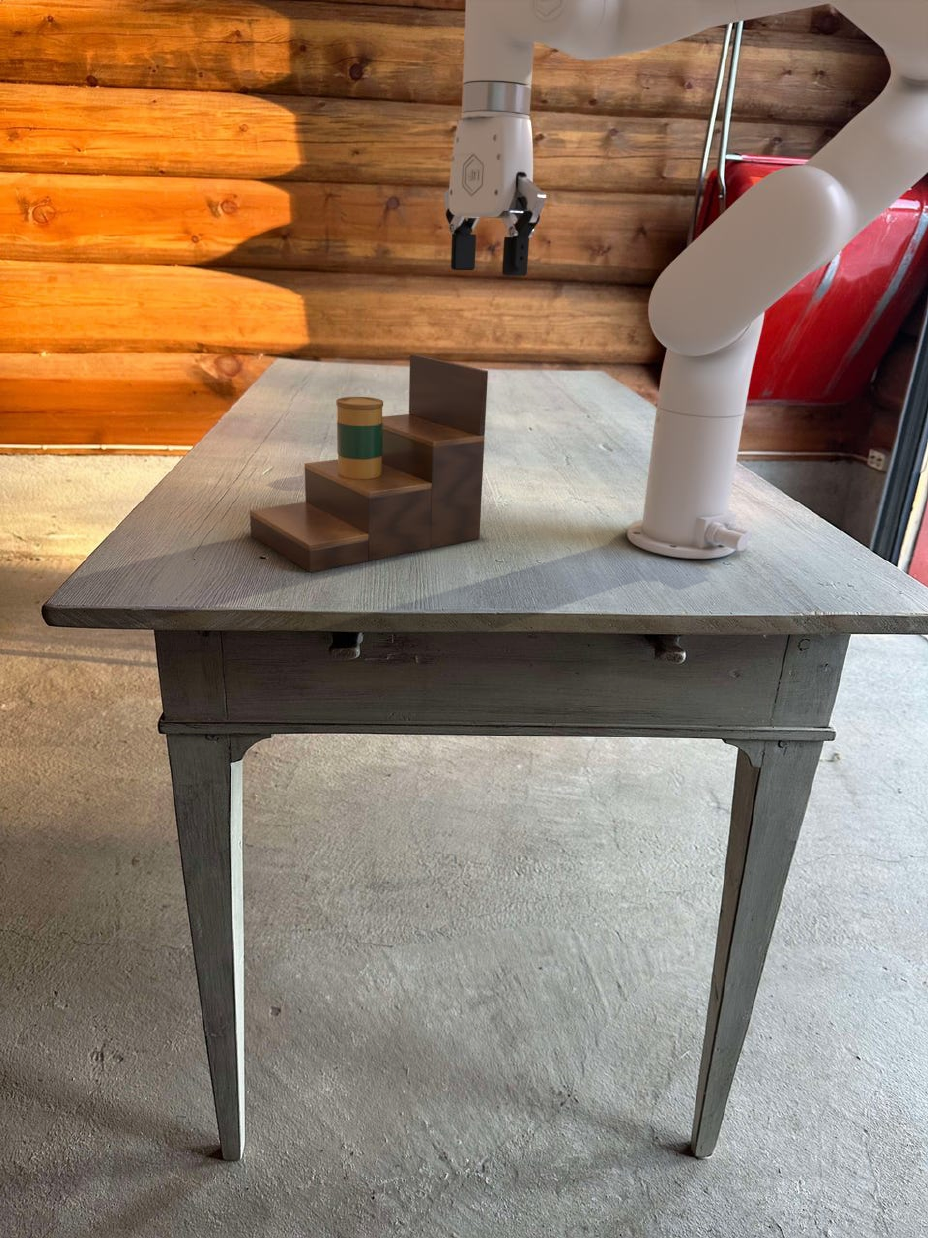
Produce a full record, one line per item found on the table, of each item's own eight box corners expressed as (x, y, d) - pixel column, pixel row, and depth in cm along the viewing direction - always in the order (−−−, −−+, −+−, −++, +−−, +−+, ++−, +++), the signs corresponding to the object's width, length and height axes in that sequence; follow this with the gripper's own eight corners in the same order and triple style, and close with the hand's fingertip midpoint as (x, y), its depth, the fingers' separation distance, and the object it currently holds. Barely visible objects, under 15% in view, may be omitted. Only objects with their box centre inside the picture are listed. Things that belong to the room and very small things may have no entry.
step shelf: (309, 572, 93) (305, 383, 85) (250, 535, 103) (241, 362, 96) (479, 538, 105) (488, 370, 98) (411, 508, 116) (415, 353, 108)
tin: (352, 481, 98) (351, 406, 94) (328, 471, 101) (327, 398, 98) (391, 476, 100) (392, 402, 97) (367, 466, 104) (367, 395, 101)
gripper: (423, 107, 104) (419, 267, 111) (520, 95, 92) (510, 277, 98) (475, 114, 108) (468, 268, 115) (575, 104, 96) (561, 277, 103)
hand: (487, 272), depth 107 cm, fingers open, 9 cm apart
